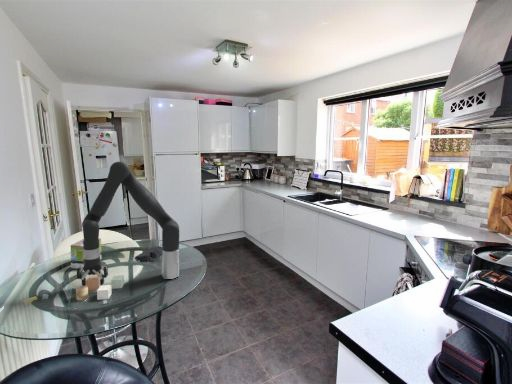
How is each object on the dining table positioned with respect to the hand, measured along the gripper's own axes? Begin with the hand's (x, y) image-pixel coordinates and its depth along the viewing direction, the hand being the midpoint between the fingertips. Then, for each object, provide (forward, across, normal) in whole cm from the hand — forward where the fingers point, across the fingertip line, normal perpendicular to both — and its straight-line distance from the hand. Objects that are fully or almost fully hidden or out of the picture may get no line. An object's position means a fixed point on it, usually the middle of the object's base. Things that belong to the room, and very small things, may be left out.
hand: (93, 285), depth 142 cm
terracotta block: (+1, 0, 0) cm, 1 cm away
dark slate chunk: (+2, -23, -41) cm, 47 cm away
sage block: (+1, -12, 0) cm, 12 cm away
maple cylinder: (+1, +2, +10) cm, 10 cm away
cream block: (+1, -8, +10) cm, 13 cm away
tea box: (+1, +14, -30) cm, 33 cm away
